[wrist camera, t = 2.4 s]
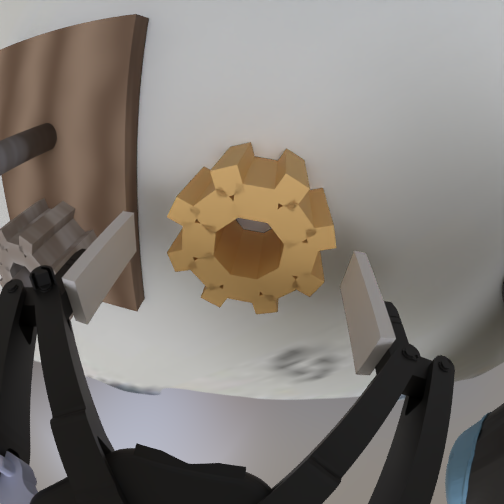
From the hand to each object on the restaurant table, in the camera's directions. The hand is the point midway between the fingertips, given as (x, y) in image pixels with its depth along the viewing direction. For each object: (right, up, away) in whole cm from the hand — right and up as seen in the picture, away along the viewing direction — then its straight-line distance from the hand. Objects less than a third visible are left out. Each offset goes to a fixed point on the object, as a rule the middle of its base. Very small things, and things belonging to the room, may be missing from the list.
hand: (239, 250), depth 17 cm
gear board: (-16, +7, +5) cm, 19 cm away
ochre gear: (+1, +3, +5) cm, 6 cm away
